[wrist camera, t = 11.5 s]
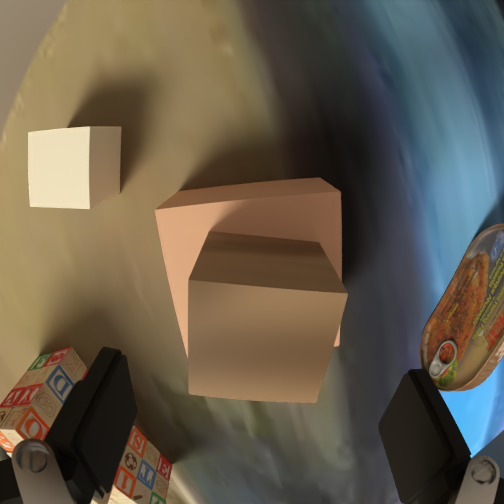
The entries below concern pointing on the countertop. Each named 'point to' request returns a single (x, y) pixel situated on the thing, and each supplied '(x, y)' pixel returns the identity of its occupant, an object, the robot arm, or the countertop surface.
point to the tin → (469, 318)
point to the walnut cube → (261, 318)
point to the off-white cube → (74, 166)
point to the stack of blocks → (47, 408)
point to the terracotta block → (246, 224)
